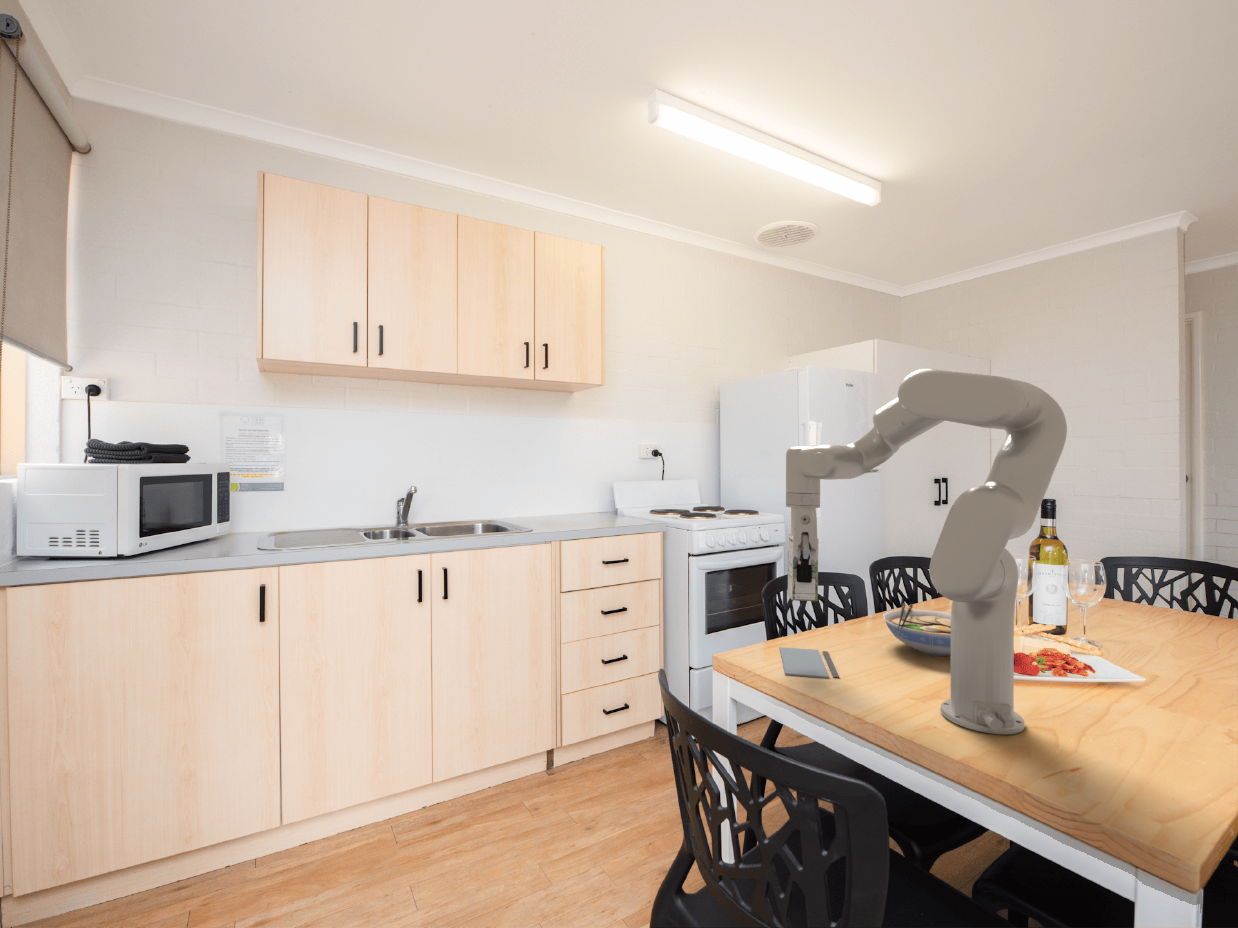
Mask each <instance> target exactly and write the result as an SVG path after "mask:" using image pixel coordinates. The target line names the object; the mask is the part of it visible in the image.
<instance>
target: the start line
mask: <svg viewBox="0 0 1238 928" xmlns="http://www.w3.org/2000/svg"><path fill="white" fill-rule="evenodd" d="M822 654H823V656H824V659H825V661H827V662H826V663H827V666H828V669H829V671H830V673H831V676H832V678H833V679H840V674H839V673H838V671H837V668H836V666H835V665H834V662H833V660H832V658H831V655H830V653H829V651H827V650H826V651H824V650H822Z"/></svg>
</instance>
